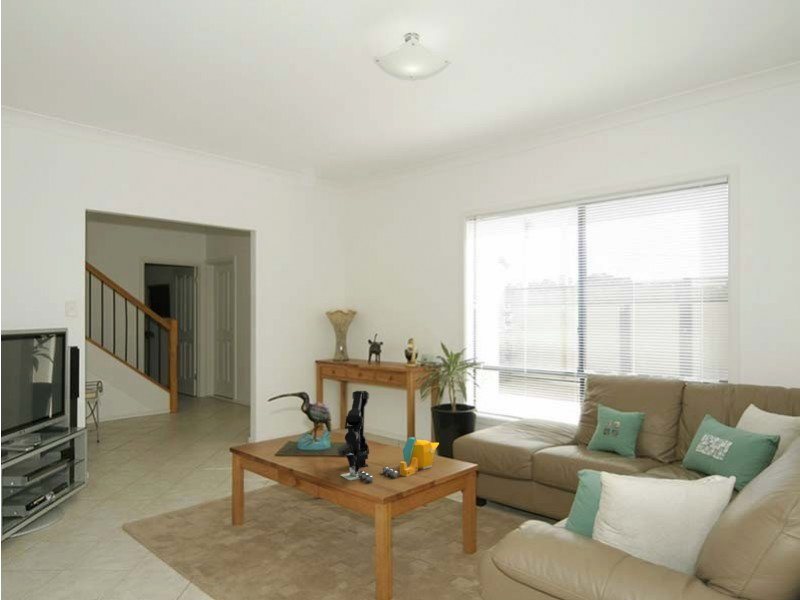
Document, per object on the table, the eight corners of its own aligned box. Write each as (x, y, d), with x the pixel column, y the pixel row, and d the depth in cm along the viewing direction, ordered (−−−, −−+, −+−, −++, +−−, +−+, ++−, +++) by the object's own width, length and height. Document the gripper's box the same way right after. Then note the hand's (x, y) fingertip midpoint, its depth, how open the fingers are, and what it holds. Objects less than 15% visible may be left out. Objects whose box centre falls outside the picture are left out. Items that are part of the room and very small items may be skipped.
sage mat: (340, 475, 279) (340, 474, 279) (358, 472, 285) (358, 471, 285) (349, 480, 271) (349, 479, 271) (367, 477, 276) (367, 476, 276)
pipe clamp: (406, 476, 278) (406, 463, 278) (399, 475, 280) (399, 462, 281) (420, 471, 287) (420, 458, 287) (414, 469, 290) (414, 457, 290)
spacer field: (357, 477, 276) (357, 471, 276) (386, 472, 285) (386, 466, 285) (368, 483, 266) (368, 477, 266) (398, 477, 276) (398, 471, 276)
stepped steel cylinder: (348, 475, 278) (348, 466, 279) (355, 473, 281) (355, 465, 281) (352, 477, 275) (352, 468, 275) (360, 476, 277) (360, 467, 277)
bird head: (448, 462, 303) (448, 432, 303) (416, 472, 285) (415, 440, 285) (429, 457, 313) (429, 429, 313) (397, 467, 295) (396, 436, 295)
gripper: (331, 437, 282) (331, 468, 281) (348, 444, 266) (348, 477, 266) (350, 434, 288) (351, 465, 287) (368, 441, 272) (368, 474, 272)
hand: (354, 470), depth 278 cm, fingers open, 5 cm apart
